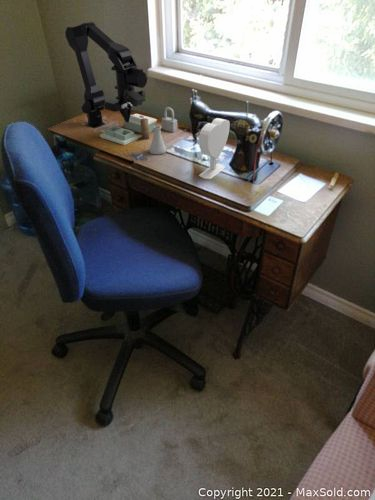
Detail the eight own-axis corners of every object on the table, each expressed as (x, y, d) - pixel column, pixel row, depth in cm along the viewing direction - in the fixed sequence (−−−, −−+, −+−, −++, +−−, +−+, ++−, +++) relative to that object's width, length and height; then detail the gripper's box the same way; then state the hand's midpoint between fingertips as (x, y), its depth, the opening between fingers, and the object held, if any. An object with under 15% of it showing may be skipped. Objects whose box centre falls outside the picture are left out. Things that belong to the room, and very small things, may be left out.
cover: (123, 120, 167) (123, 113, 165) (136, 115, 173) (135, 109, 171) (144, 126, 161) (143, 119, 160) (156, 121, 167) (156, 114, 165)
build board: (100, 137, 161) (99, 129, 159) (115, 131, 167) (114, 123, 165) (124, 145, 155) (123, 137, 153) (138, 138, 160) (138, 131, 158)
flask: (168, 148, 153) (167, 124, 147) (165, 155, 147) (165, 130, 141) (150, 147, 153) (149, 123, 147) (147, 154, 148) (146, 129, 142)
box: (125, 128, 170) (124, 120, 167) (137, 123, 175) (136, 115, 172) (144, 134, 164) (144, 126, 162) (156, 129, 169) (156, 121, 167)
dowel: (140, 138, 160) (138, 119, 155) (145, 136, 162) (144, 117, 158) (145, 140, 159) (144, 121, 154) (150, 138, 161) (149, 119, 156)
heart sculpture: (216, 161, 143) (219, 114, 132) (228, 164, 141) (232, 117, 130) (195, 177, 133) (197, 127, 122) (208, 181, 131) (210, 130, 120)
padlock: (178, 130, 168) (178, 107, 162) (172, 133, 166) (172, 110, 160) (166, 126, 172) (165, 104, 165) (160, 129, 169) (159, 106, 163)
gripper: (121, 92, 140) (125, 133, 150) (154, 81, 152) (155, 120, 162) (101, 87, 145) (106, 126, 155) (134, 77, 157) (136, 114, 167)
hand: (127, 122), depth 160 cm, fingers closed
